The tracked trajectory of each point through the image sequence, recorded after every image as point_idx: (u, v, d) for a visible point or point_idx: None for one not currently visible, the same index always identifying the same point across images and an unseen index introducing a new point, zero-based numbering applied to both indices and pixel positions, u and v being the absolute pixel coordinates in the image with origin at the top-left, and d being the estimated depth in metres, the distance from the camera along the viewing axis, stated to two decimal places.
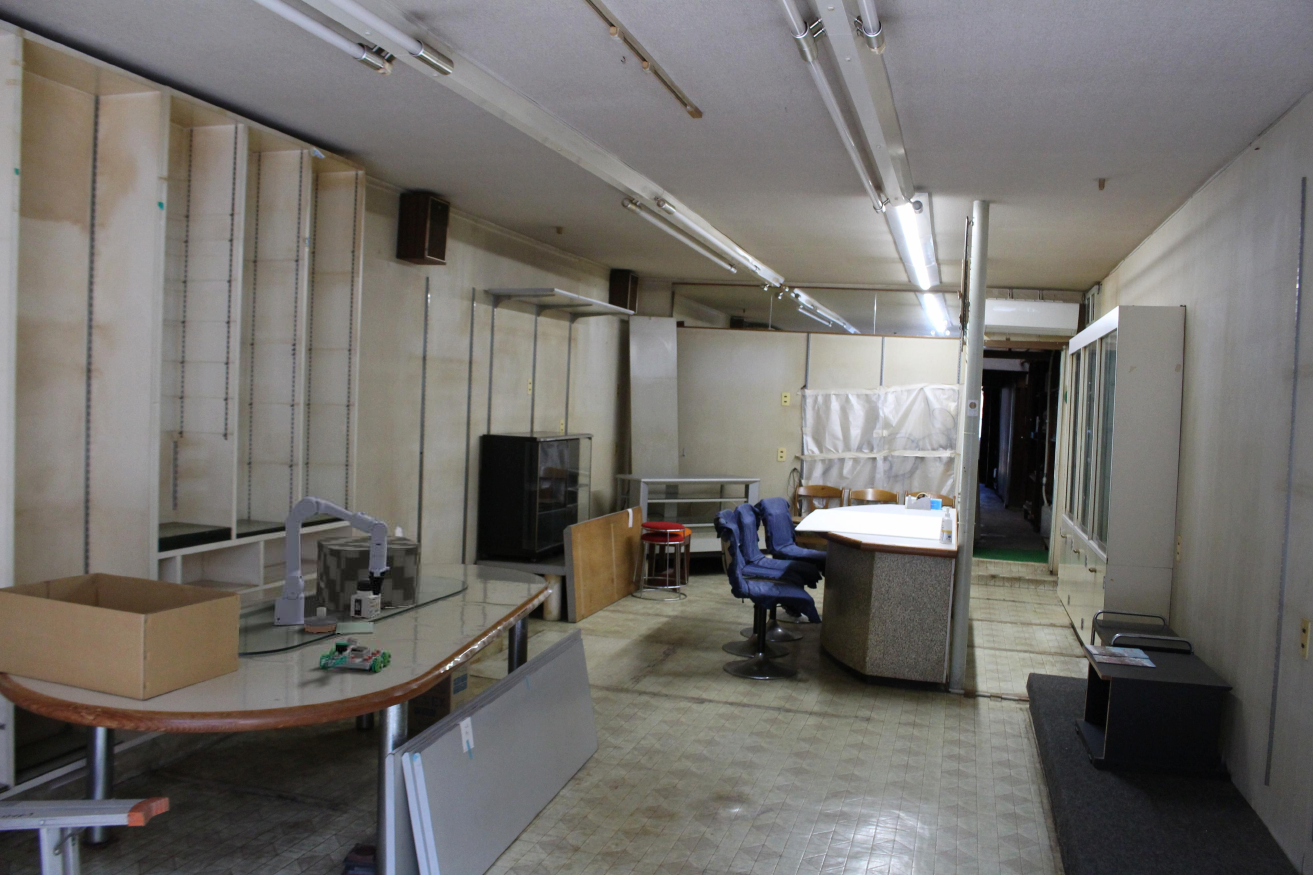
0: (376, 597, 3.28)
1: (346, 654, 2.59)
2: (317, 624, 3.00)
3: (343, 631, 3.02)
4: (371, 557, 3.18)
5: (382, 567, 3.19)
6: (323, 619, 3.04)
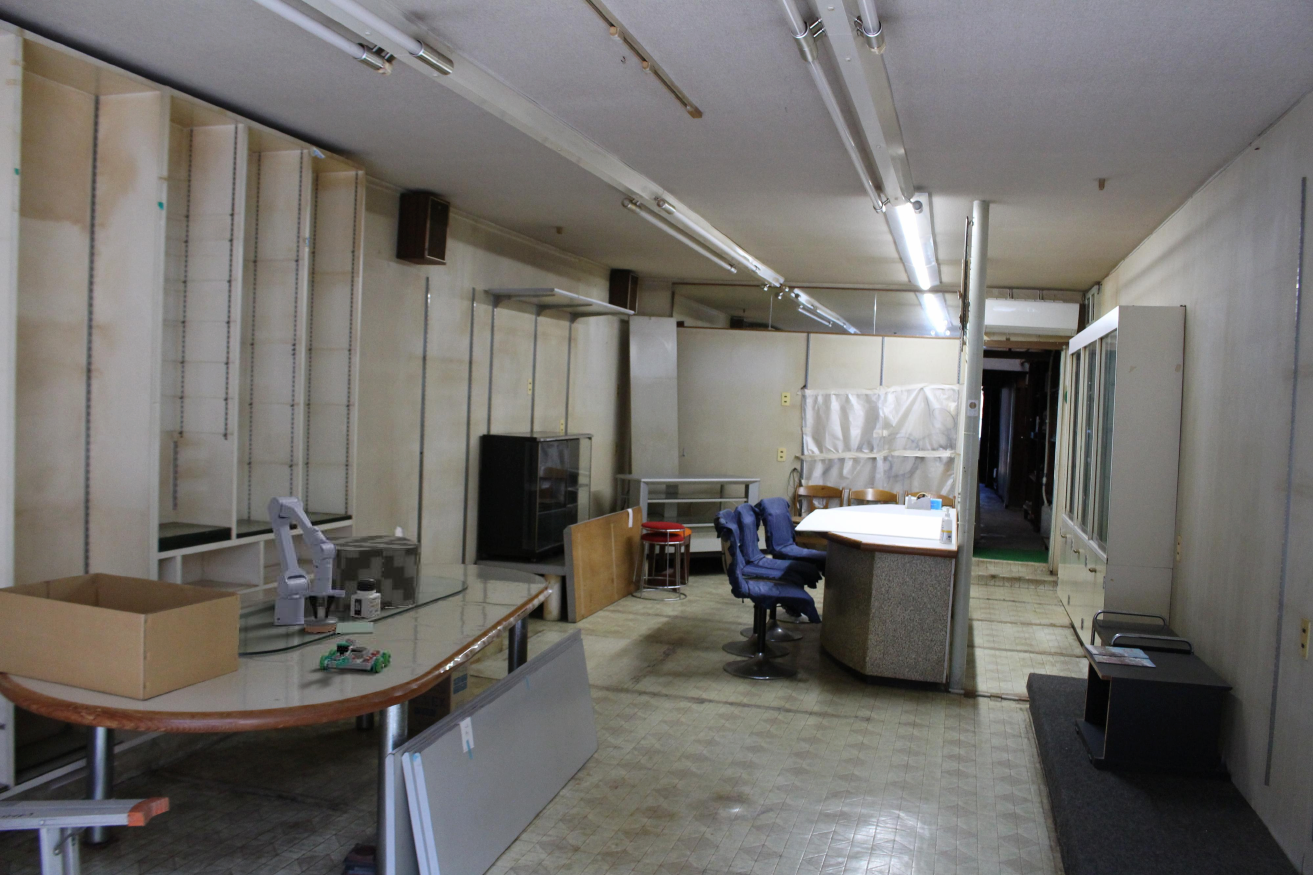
0: (376, 597, 3.28)
1: (347, 655, 2.59)
2: (317, 624, 3.00)
3: (343, 631, 3.02)
4: None
5: (314, 591, 3.03)
6: (323, 619, 3.04)
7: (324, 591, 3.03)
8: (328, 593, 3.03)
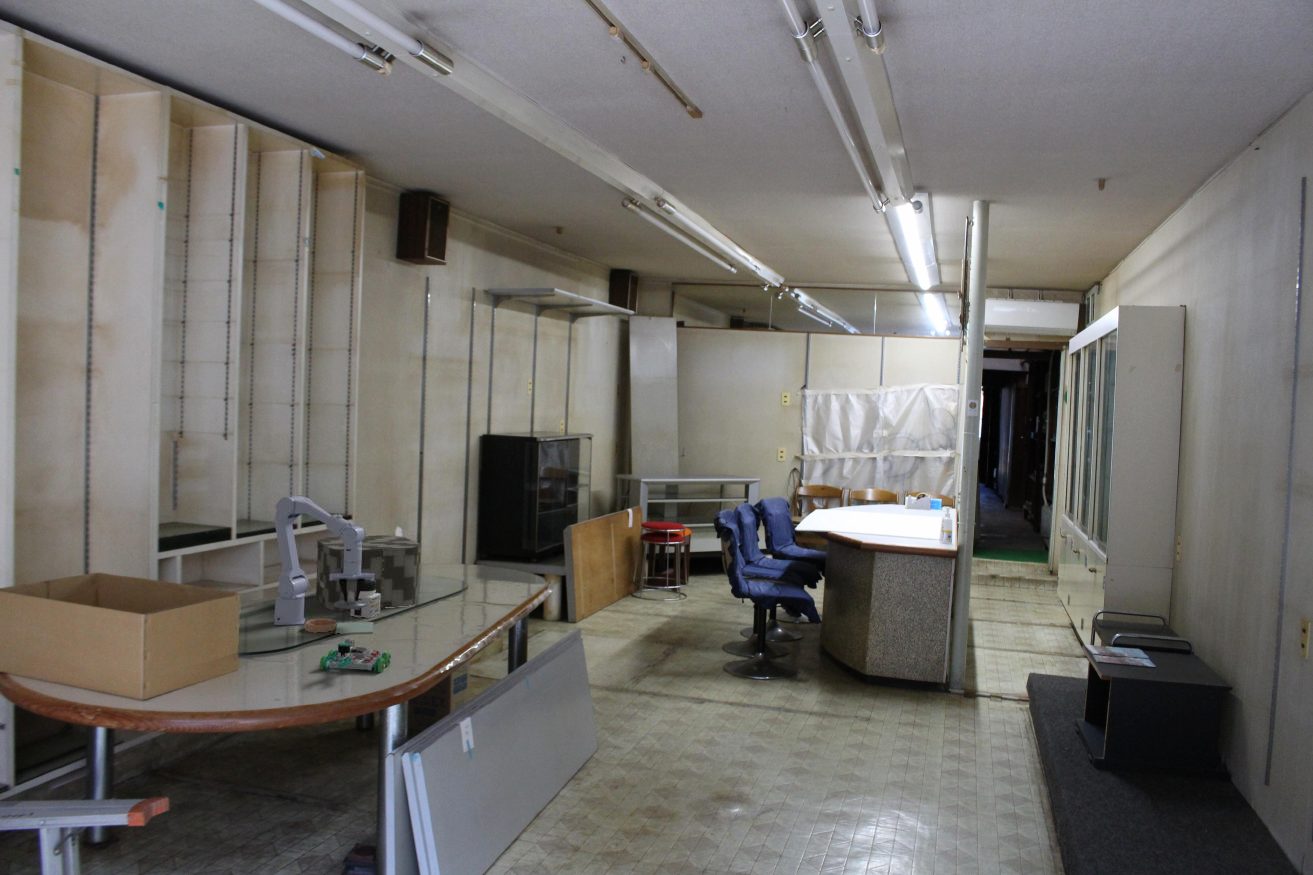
0: (376, 597, 3.28)
1: None
2: (348, 607, 3.03)
3: (343, 631, 3.02)
4: None
5: (345, 574, 3.05)
6: (353, 602, 3.07)
7: (354, 574, 3.05)
8: (358, 576, 3.06)
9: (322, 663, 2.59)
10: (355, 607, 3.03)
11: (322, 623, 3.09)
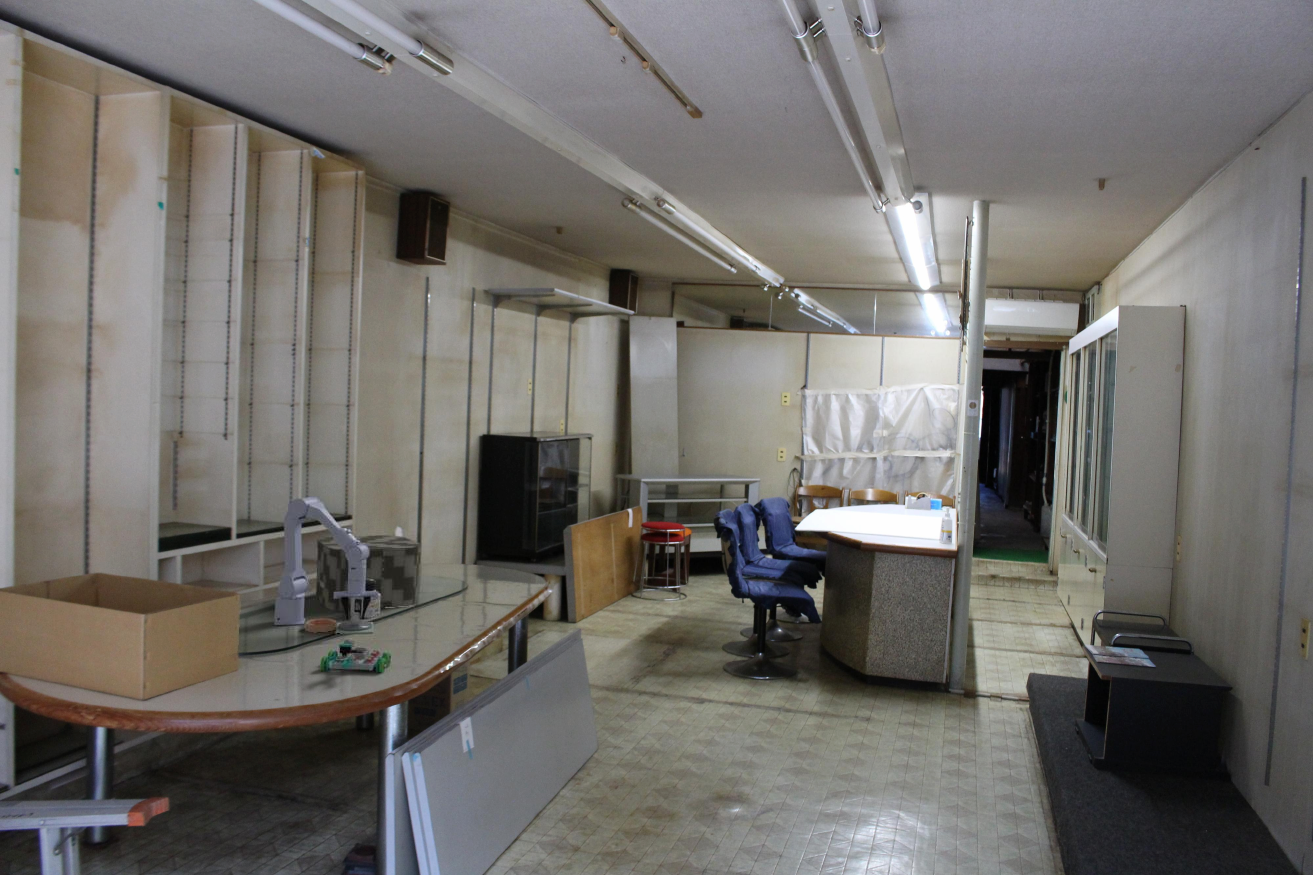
0: None
1: (349, 656, 2.58)
2: (352, 629, 3.03)
3: (343, 631, 3.02)
4: None
5: (349, 592, 3.06)
6: (357, 624, 3.08)
7: (358, 592, 3.06)
8: (362, 594, 3.07)
9: (323, 664, 2.58)
10: (359, 629, 3.04)
11: (322, 623, 3.09)
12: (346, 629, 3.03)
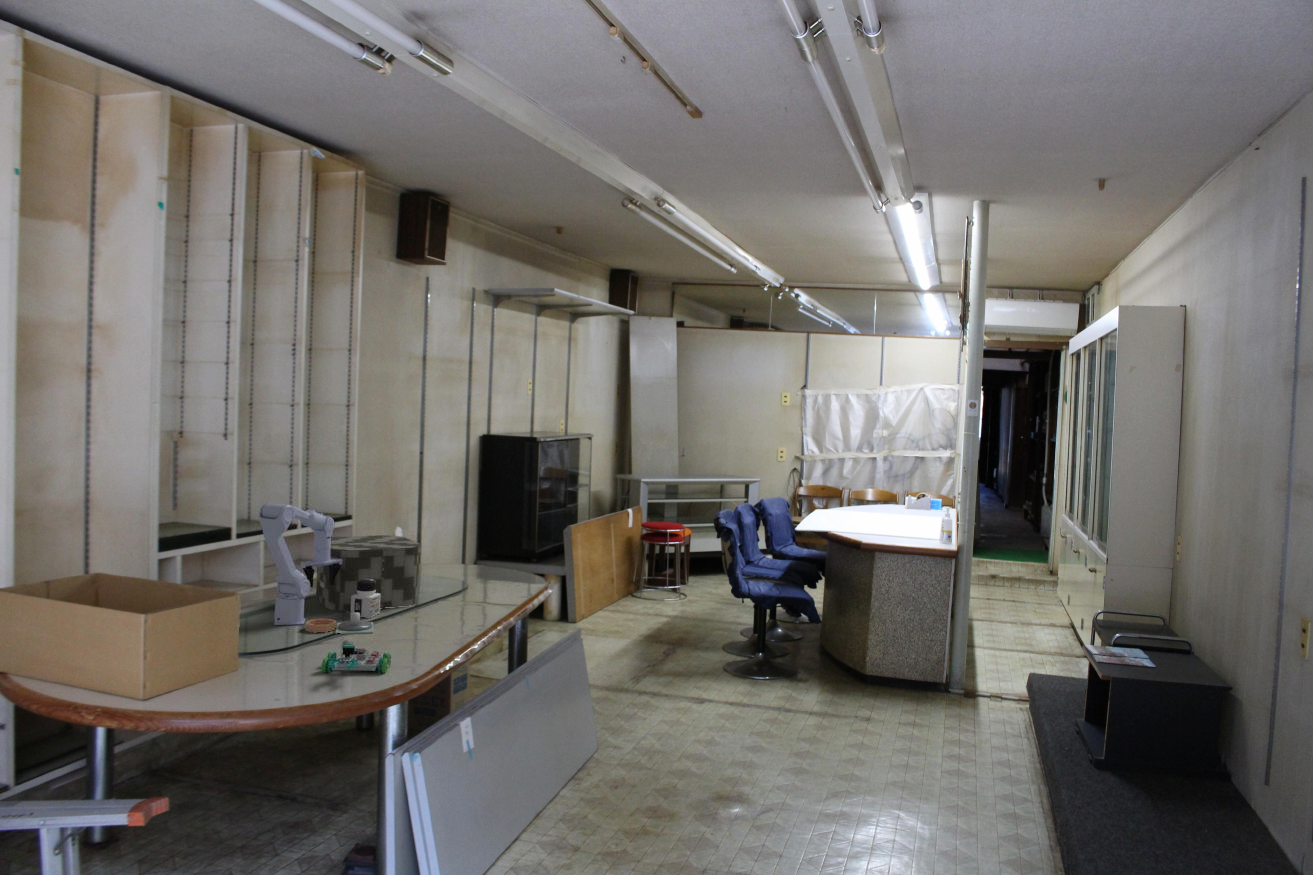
0: (376, 597, 3.28)
1: None
2: (351, 629, 3.03)
3: (343, 631, 3.02)
4: None
5: (317, 560, 3.24)
6: (357, 624, 3.08)
7: (327, 560, 3.25)
8: (330, 562, 3.26)
9: (324, 666, 2.56)
10: (359, 629, 3.04)
11: (322, 623, 3.09)
12: (346, 629, 3.03)
